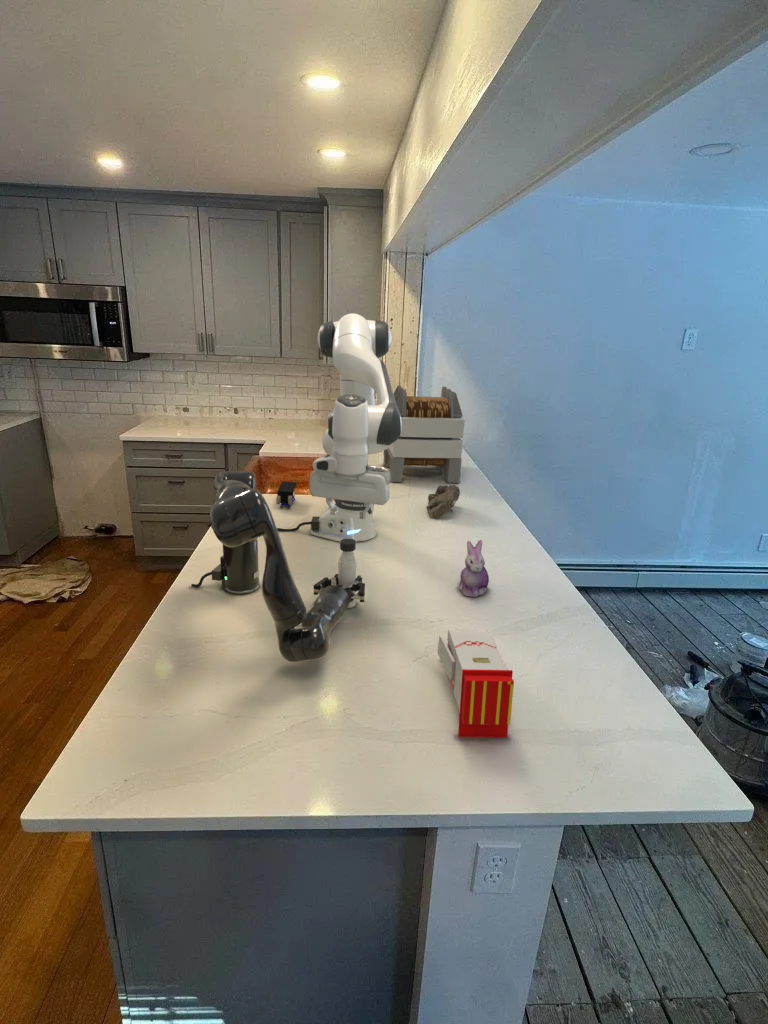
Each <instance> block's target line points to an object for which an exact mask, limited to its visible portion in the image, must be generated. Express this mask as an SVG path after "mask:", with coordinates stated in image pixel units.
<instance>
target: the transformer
mask: <svg viewBox="0 0 768 1024" xmlns="http://www.w3.org/2000/svg"><path fill="white" fill-rule="evenodd" d="M440 393H441V394H440V396H415V395H414V396H413V395H412V396H411V395H407V394H408V393H407V390H406V389H404V388H403V387H402V385H399V384H398V385H397V386H396V388H395V390H394V391H393V395H394V399H395V402H396V405H397V408H398V410H399V414H400V417H401V421H402V430H401V435H400V437H399V438H398V439H397V440H396V441H395V442H394V443H392V444H391V445H390V447H389V448H388V449H386V450H384V451H383V467H388V468H389V472H390V475H391V478H390V483H402V482H403V475H404V469H405V466H406V467H407V466H411V467H412V466H413V467H415V466H416V467H417V466H418V467H436V468H437V470H438V469H439V473H440V474H441V475H443V478H444V479H445V481H446V482H447V483H449V484H455V483H456V484H459V483H461V472H462V461H463V460H462V453H463V442H464V441H463V440H462V439H463V438H464V431H465V430H464V429H465V419H464V418H463V411H462V408H461V405H460V402H459V398H458V395H457V392H455V391H453V390H452V389H451V388H447V386H442V387H441V392H440Z"/></svg>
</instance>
